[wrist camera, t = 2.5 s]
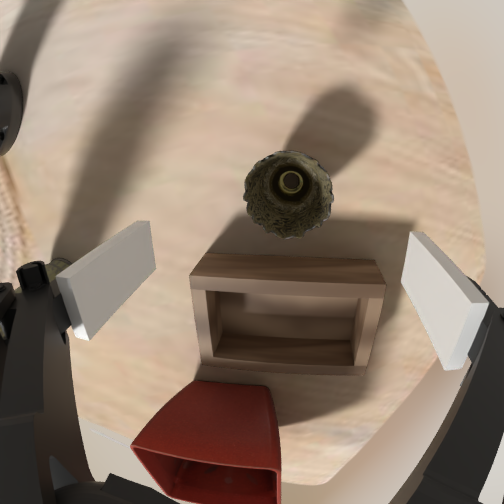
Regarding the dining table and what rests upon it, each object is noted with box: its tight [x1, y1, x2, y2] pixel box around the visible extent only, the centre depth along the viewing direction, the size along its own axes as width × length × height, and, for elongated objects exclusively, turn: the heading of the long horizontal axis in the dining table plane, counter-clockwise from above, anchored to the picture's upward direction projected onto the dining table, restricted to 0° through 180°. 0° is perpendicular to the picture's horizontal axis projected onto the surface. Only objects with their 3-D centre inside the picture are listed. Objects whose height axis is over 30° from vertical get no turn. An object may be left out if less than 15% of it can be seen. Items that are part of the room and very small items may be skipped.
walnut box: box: [189, 253, 386, 375], centre depth 35 cm, size 13×20×6 cm, turn 92°
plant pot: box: [130, 381, 281, 504], centre depth 39 cm, size 19×19×17 cm
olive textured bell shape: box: [243, 151, 334, 239], centre depth 28 cm, size 7×7×8 cm
